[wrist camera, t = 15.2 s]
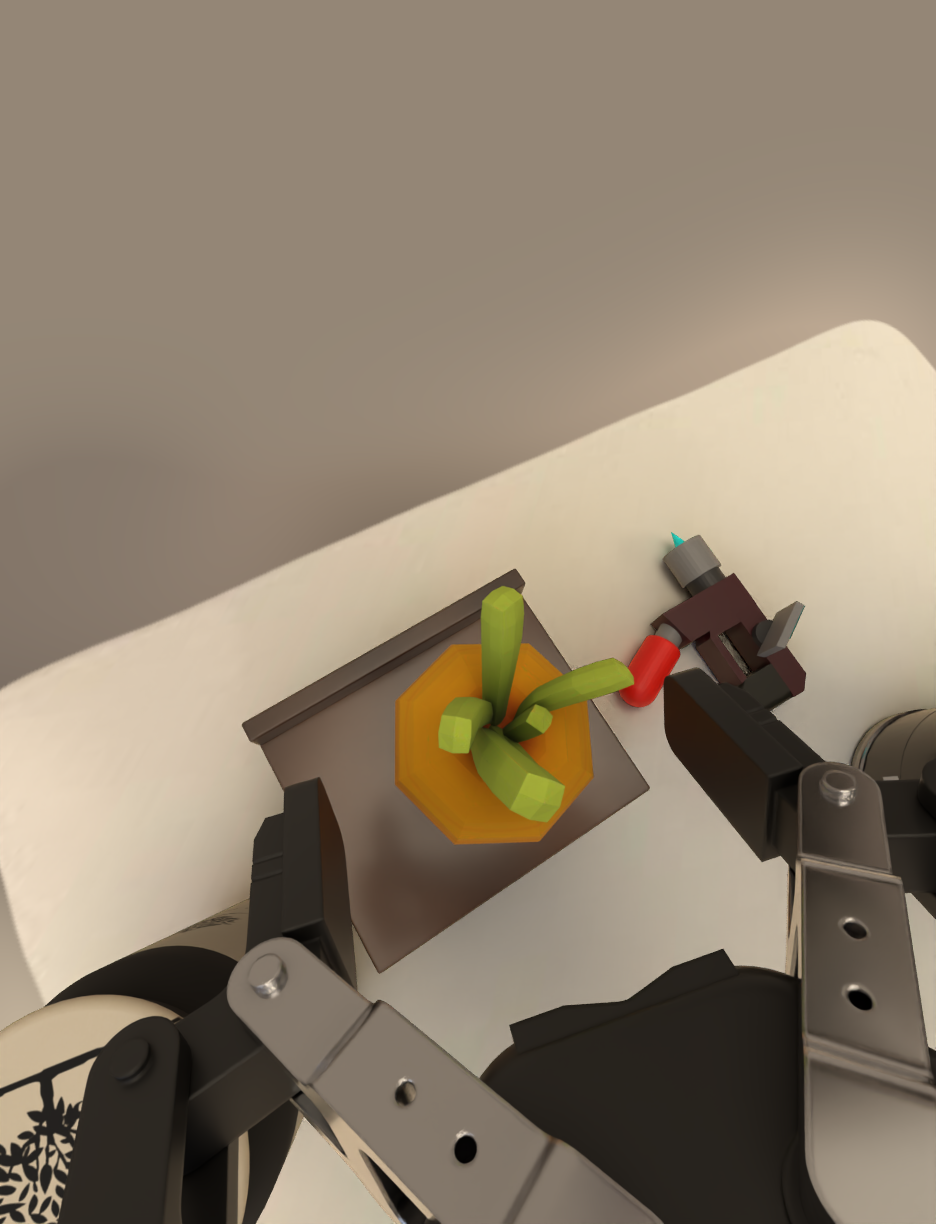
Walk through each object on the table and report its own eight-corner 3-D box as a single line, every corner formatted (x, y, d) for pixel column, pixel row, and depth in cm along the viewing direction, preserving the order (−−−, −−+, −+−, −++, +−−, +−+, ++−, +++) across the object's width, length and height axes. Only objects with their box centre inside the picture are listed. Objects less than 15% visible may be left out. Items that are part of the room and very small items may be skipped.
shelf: (491, 639, 37) (515, 567, 26) (591, 795, 34) (663, 787, 23) (301, 751, 34) (240, 723, 23) (395, 926, 32) (375, 985, 21)
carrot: (433, 685, 26) (434, 522, 11) (550, 731, 25) (705, 623, 11) (384, 807, 24) (312, 798, 10) (508, 857, 24) (621, 924, 9)
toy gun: (685, 528, 39) (719, 490, 35) (807, 697, 36) (861, 681, 32) (552, 600, 37) (569, 570, 33) (669, 785, 35) (706, 781, 30)
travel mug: (365, 1055, 30) (276, 1376, 13) (192, 1098, 29) (-147, 1503, 12) (341, 877, 32) (238, 950, 15) (180, 912, 32) (-122, 1032, 14)
